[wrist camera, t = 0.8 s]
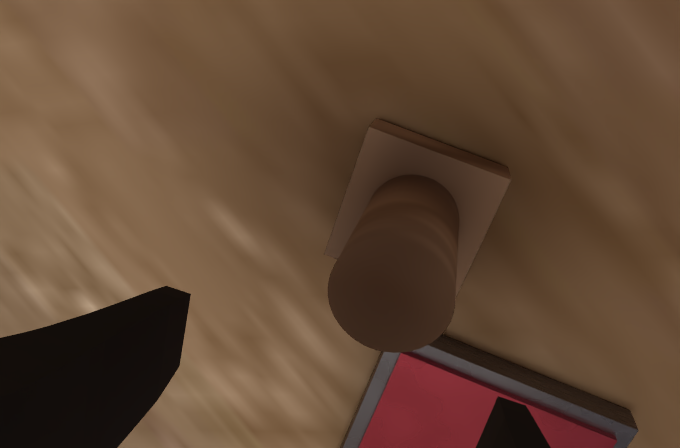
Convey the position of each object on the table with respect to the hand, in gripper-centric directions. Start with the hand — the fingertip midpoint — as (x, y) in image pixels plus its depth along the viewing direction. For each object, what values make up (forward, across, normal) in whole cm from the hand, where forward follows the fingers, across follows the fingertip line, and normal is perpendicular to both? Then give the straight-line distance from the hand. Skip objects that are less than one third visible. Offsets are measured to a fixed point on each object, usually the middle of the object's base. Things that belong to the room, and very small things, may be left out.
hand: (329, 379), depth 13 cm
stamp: (+10, -1, -1) cm, 11 cm away
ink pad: (+10, -6, +8) cm, 15 cm away
